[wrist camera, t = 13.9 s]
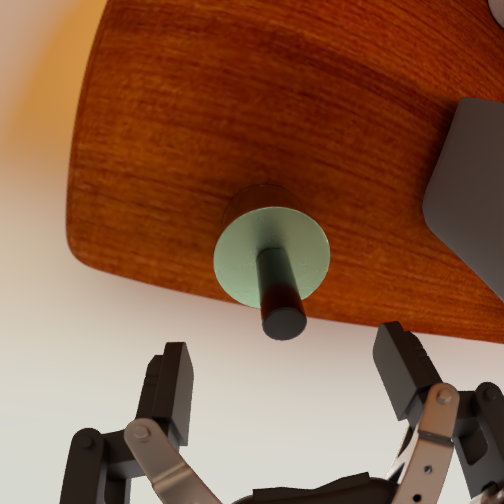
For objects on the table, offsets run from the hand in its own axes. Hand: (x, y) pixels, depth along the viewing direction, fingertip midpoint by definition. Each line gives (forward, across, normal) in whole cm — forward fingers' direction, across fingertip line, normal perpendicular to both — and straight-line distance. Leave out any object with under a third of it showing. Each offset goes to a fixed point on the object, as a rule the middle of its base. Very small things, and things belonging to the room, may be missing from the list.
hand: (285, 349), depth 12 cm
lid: (+8, 0, 0) cm, 8 cm away
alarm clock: (+13, -21, -2) cm, 25 cm away
